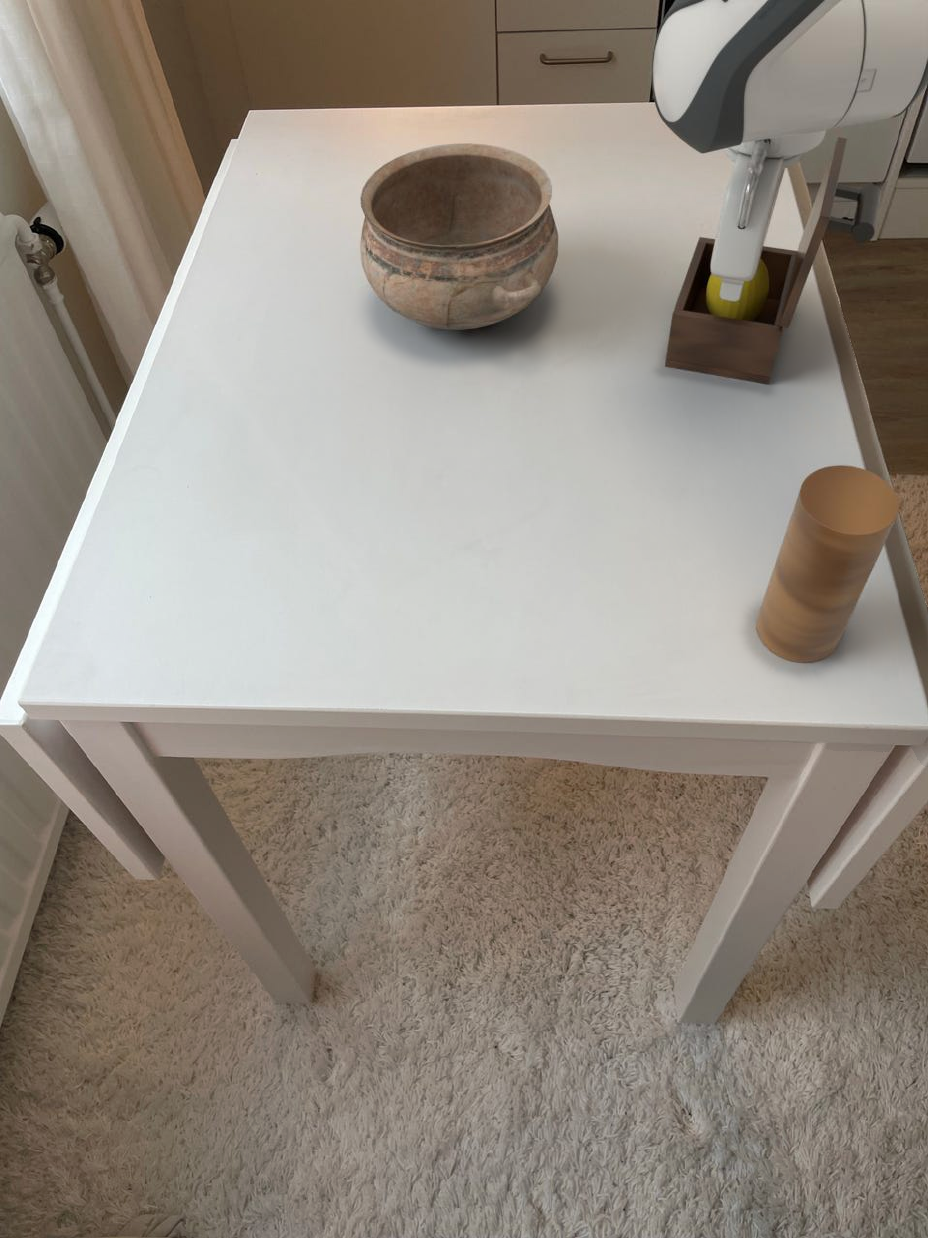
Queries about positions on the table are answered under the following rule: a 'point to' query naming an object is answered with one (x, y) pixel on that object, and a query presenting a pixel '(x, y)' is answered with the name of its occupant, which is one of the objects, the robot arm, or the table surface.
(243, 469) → the table surface
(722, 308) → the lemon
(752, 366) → the chest
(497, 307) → the cooking pot
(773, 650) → the stand
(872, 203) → the lid
